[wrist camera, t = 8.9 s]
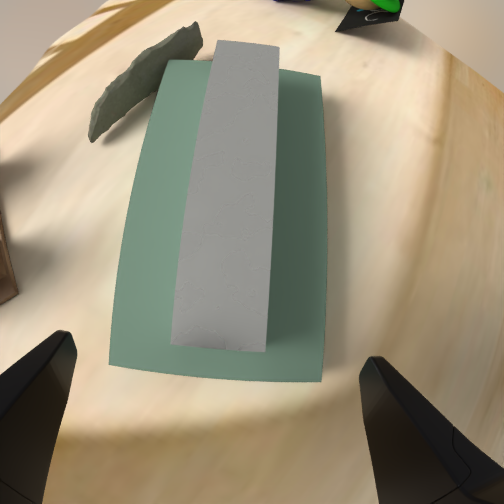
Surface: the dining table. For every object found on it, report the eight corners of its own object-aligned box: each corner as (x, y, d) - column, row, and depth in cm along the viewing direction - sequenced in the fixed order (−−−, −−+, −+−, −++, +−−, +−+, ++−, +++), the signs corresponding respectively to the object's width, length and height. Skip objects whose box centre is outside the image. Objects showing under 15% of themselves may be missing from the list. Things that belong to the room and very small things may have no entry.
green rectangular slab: (306, 375, 20) (321, 381, 17) (123, 360, 19) (108, 364, 16) (310, 98, 25) (320, 76, 22) (171, 83, 24) (168, 59, 21)
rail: (254, 347, 17) (265, 352, 13) (180, 340, 17) (170, 344, 13) (269, 85, 21) (279, 47, 18) (215, 79, 21) (217, 39, 17)
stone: (189, 52, 25) (187, 12, 20) (205, 61, 25) (205, 19, 20) (84, 140, 22) (63, 104, 17) (99, 152, 22) (78, 115, 17)
